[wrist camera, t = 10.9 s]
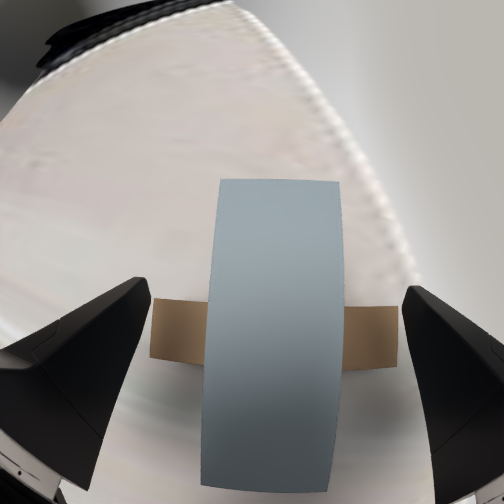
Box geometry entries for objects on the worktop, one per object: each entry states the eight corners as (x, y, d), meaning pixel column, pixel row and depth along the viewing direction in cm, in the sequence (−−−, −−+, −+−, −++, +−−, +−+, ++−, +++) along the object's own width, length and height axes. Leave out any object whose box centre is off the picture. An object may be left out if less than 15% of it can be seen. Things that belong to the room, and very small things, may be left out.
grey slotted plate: (300, 409, 15) (326, 491, 6) (241, 407, 15) (200, 484, 6) (306, 264, 18) (339, 181, 8) (250, 262, 18) (220, 179, 8)
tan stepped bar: (372, 312, 16) (398, 306, 13) (371, 361, 16) (396, 366, 12) (179, 306, 17) (153, 298, 14) (176, 353, 17) (149, 357, 13)
